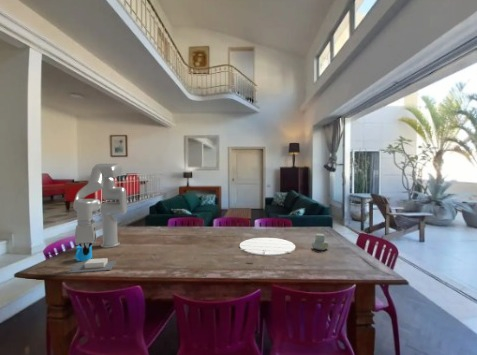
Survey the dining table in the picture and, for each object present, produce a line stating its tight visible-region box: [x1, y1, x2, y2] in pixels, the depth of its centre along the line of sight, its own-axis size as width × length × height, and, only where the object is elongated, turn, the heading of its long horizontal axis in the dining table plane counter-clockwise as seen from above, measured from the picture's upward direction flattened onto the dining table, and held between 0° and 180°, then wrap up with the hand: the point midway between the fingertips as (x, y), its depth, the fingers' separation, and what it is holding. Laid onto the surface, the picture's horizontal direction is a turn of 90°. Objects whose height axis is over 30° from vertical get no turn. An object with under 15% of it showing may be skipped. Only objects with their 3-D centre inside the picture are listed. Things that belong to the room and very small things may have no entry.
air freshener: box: [311, 233, 329, 251], centre depth 185 cm, size 11×8×10 cm
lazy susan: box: [239, 237, 296, 257], centre depth 192 cm, size 40×39×3 cm
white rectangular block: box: [84, 257, 109, 269], centre depth 156 cm, size 7×3×10 cm
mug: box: [74, 243, 93, 262], centre depth 167 cm, size 12×8×8 cm
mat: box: [66, 260, 118, 274], centre depth 155 cm, size 14×22×1 cm, turn 100°
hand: (86, 254), depth 154 cm, fingers closed
